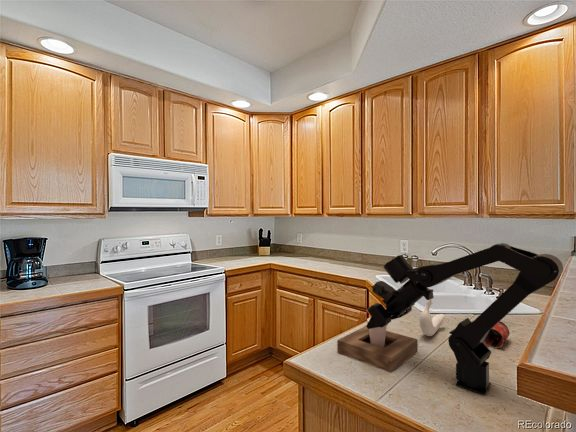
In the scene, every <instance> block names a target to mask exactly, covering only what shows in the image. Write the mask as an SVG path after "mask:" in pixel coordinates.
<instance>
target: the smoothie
mask: <svg viewBox="0 0 576 432" xmlns="http://www.w3.org/2000/svg"><path fill="white" fill-rule="evenodd" d="M370 318H371V316H370V317H368V318H367V319H366V325H367V324H368V322H369V320H370ZM388 325H389V323H388V324H387V325H385V326H384V327H382V328H381V327H376V328H371V329H369V334H370V341H371V344H373V345H376V346H379V347H382V348H384V346H385V337H386V331H387V327H388Z"/></svg>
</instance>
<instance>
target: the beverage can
mask: <svg viewBox="0 0 576 432" xmlns="http://www.w3.org/2000/svg"><path fill="white" fill-rule="evenodd" d="M509 336H510V329H509V327H508V326H507V324H506V323H505V322H503V321H502V320H501V321H499V322H498V323H497V324H496V325H495V326H494V327H493V328H492V329H491V330H490V331H489V333H488V334H487V336H486V338H485V339H484V341H483V343H484V344H485V345H486V346H487V348H488V349H489V348H491V347H490V346H491V345H492V344H493V342H494V341H495V340H499V342H498V343H497V345H496V346H495V347H493V348H492V349H493V350H495V349H499V348H502V347H503V345H504V343H505V342H506V341H507V339H508V338H509Z"/></svg>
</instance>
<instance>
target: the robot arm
mask: <svg viewBox="0 0 576 432" xmlns="http://www.w3.org/2000/svg"><path fill="white" fill-rule="evenodd" d="M496 262H500V263H503V264H505V265H507V266H509V267H511V268H512V269H515V270H517V271H519V273H518V274H517V275H516V278H515V280H514V281H513V283H512V284H510V286H509V287H507V288H506V290H505V291H503V292H502V293H501V294H500V295H499V296H498V297H497V298H496V299H495V300H494V301H493V302H492V303H491V304H490V305H489V306H488V307H486V309H484V310H483V312H481V314H479V316H477V317H476V318H475V319H474V320H473V321H471V320H470V319H469V317H466V318H465V319H464V320H462V321H460V322H459V323H458V324H457V325H456V327H455V328H454V329H452V330H450V331H449V332H448V334H450V335H449V337H448V339H447V340H448V341H447V342H448V345H449V348H450V349H451V351H452V352H453V354H454V356H455V360H456V364H455V379H456V382H455V386H458V387H460V388H463V389H466V390H470V391H472V392H475V393H477V394H481V395H484V396H485V395H486V394H487V393H488V392H489V390H490V388H491V387H492V383H491V382H490V362H488V360H489V359H490V357H491V355H492V351H491V349H489V347H487V346H486V345H485V344H484V343H483V341H484V339H485V338H486V336H487V334H488V333H489V331H490V330H491V329H492V328H493V327H494V326H495V325H496V324H497V323H498V322H499V321H501V322H502V320H503V319H504V318H505V317H506V316H508V314H509V313H510V312H512V311H513V310H514V309H515V308H516V307H517V306H518V305H520V304H521V302H523V301H524V300H525V299H526V298H527V297H529V295H531V294H533V293H535V292H537V291H538V290H540V289H541V288H543V287H545V286H546V285H549V284H550V283H552V282H554V281H555V280H556V279H558V278H559V277H560V276H561V275H562V273H563V272H564V265H563V263H562V260H560V259H559V258H558V257H557V256H555V255H553V254H550V253H549V254H548V253H540V254H538V253H535V252H532V251H529V250H525V249H521V248H519V247H516V246H512V245H509V244H508V243H504V242H500V243H495V244H492V246H490V247H487V248H484V249H481V250H478V251H475V252H473V253H469V254H467V255H465V256H464V255H463V256H461V257H458V258H455V259H453V260H450V261H444V262H438V263H431V264H428V265H424V266H421V267H414V268H413V267H412V266H411V264H409V263H408V261H407V260H406V259H405V257H404V256H403V255H402V254H399V255H397V256H396V257H394V258H392V259H391V260H389V261H387V262H386V263H385V264H384V265H383V269H384V271H385V272H386V273H387V275H389V277H390V278H391V279H392V281H394V283H396V284H398V283H400V285H401V284H403V285H402V286H400V288H398V289H396V288H394V287H393V286H391V284H389V283H387V282H386V281H383V280H379V281H377V282H376V281H375V283H374V284H373V285H372V286H371V288H372V291H371V292H372V293H373V294H375V295H377V296H378V297H380V298H381V299H382V300H381V301H382V303H384V306H383V304H382V303H375V304H372V305H370V306H369V307H368V308H367V312H368V314H370V317H371V318H370V317H369V318H370V320H369V322H368V324H367V323H366V325H365V326H366V327H367V328H368V329H371V328H376V327H381V328H382V327H384V326H385V325H387V324H388V325H389V323H391V322H392V321H393V320H397V319H400V318H402V317H404V316H406V315H408V314H409V313H410V312H412V309H413V308H412V307H414V306H415V305H416V303H417V302H418V301H419V300H421V298H423V297H424V298H425V300H426V301H428V300H430V299H431V300H432V299H434V289H431V288H432V287H435V286H437V285H440V284H442V283H444V282H447V280H450V279H451V278H453V277H454V276H456V275H458V274H462V273H465V272H468V271H471V270H474V269H477V268H482V267H483V266H487V265H490V264H494V263H496ZM388 325H387V326H388Z"/></svg>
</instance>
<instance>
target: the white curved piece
mask: <svg viewBox="0 0 576 432" xmlns="http://www.w3.org/2000/svg"><path fill="white" fill-rule="evenodd" d="M432 305H433V302H432V299H430V300H426V302H425V307H424V309H423V310H421V312H420V315H419V326H420V327H419V328H420V330H421V333H423V334H424V335H425V336H428V337H432V336H434V335H435V334H436V332H437V331H438V330H439V328H440V327H441V326H442V325H443V323H444V320H445V317H446V316H445V315H444V314H442V313H440V314H436V315H434V316H432V315H431V313H430V307H431V306H432Z"/></svg>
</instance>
